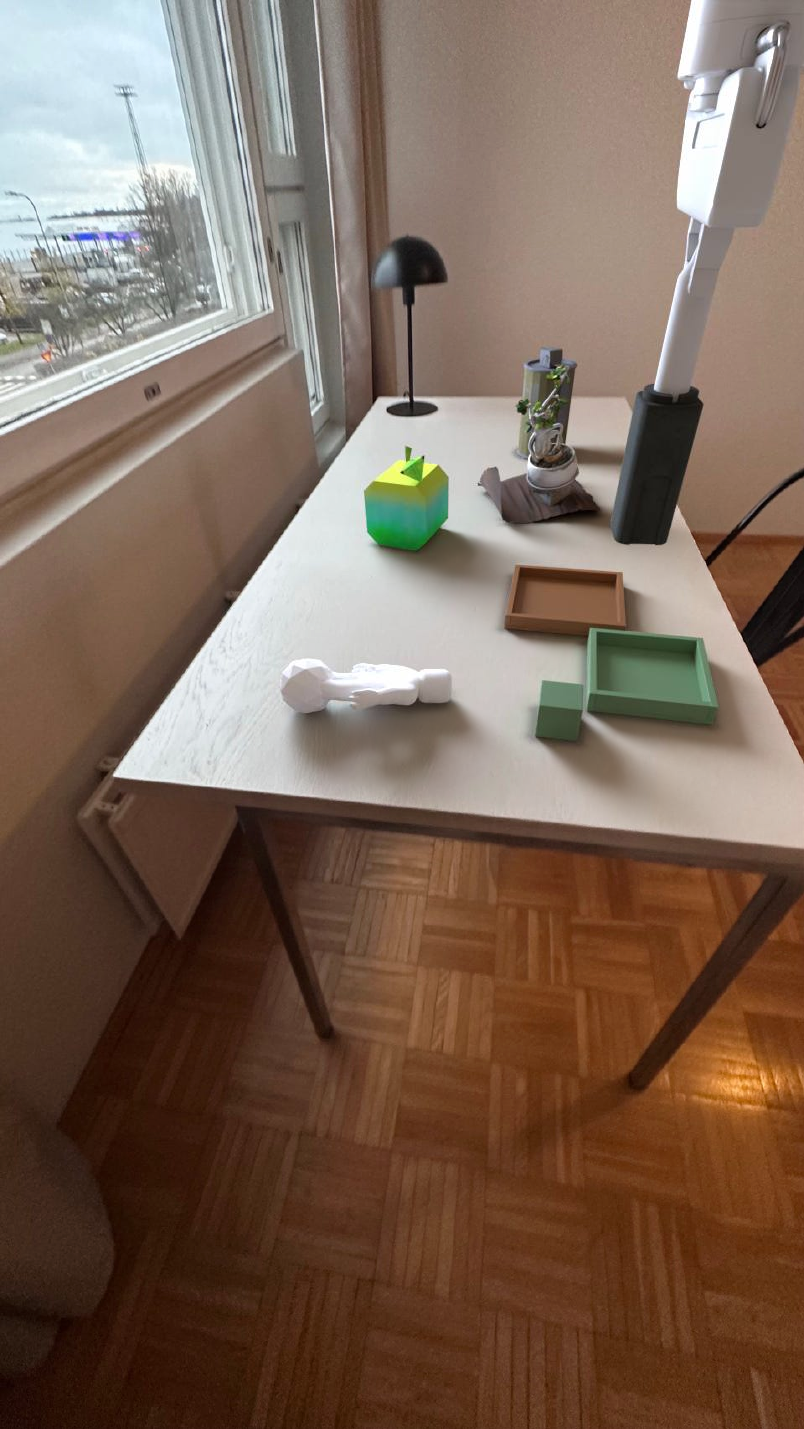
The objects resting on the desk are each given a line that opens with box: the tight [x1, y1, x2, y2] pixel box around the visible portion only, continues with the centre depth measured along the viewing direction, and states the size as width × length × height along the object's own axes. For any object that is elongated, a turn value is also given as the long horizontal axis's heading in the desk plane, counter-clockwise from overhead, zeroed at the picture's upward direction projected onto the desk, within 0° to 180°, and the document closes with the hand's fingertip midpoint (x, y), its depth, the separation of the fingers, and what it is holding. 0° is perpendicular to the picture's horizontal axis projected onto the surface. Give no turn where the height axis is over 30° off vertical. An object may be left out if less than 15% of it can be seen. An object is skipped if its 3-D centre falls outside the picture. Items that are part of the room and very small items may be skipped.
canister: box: [516, 345, 578, 460], centre depth 131 cm, size 11×10×20 cm
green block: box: [534, 679, 584, 742], centre depth 70 cm, size 4×4×4 cm
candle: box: [609, 246, 718, 546], centre depth 56 cm, size 5×5×25 cm
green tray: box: [585, 628, 719, 726], centre depth 76 cm, size 14×14×3 cm
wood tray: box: [503, 564, 627, 637], centre depth 89 cm, size 16×15×2 cm
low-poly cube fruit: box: [363, 445, 450, 552], centre depth 104 cm, size 11×10×15 cm
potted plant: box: [477, 364, 602, 525], centre depth 111 cm, size 20×19×25 cm
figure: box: [278, 658, 453, 714], centre depth 73 cm, size 11×6×20 cm
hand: (695, 291), depth 50 cm, fingers closed on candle, 3 cm apart
